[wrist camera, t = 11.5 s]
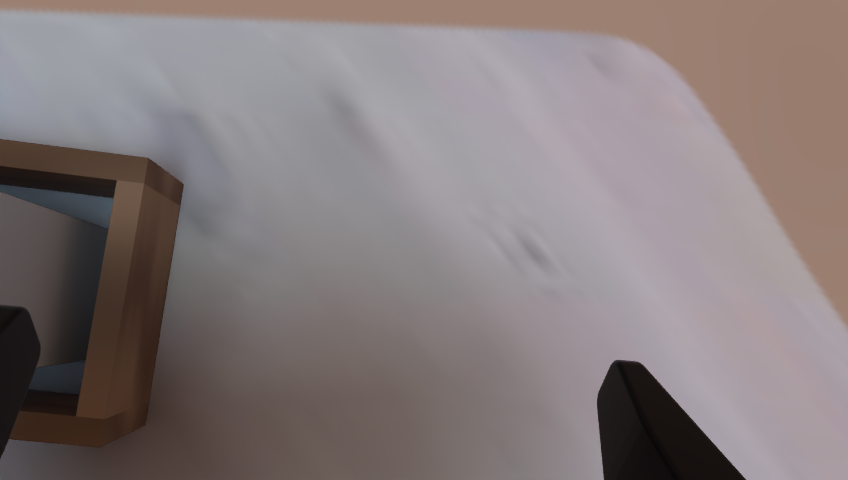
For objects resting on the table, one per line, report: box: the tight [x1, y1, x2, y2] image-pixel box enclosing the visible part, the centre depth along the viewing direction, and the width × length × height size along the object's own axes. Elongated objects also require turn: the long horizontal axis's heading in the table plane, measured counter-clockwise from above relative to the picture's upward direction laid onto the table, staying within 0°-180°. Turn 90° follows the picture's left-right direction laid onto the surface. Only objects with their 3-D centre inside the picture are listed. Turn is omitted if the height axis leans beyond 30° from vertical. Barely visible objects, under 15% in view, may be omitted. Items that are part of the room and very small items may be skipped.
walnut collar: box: [0, 139, 184, 447], centre depth 21 cm, size 9×9×4 cm
